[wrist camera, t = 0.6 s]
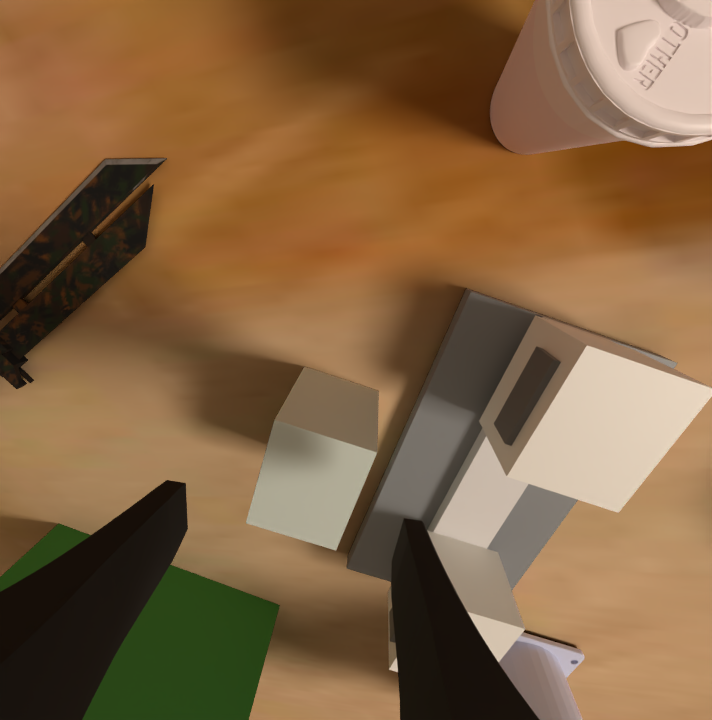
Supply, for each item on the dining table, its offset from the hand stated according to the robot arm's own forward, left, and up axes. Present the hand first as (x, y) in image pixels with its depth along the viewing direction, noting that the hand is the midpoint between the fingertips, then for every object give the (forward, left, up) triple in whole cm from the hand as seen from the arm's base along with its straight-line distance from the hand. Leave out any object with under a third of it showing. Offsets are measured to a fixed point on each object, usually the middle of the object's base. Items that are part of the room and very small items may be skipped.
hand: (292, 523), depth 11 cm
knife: (-1, +19, -10) cm, 21 cm away
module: (-2, 0, -10) cm, 10 cm away
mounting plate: (-2, -10, -10) cm, 14 cm away
